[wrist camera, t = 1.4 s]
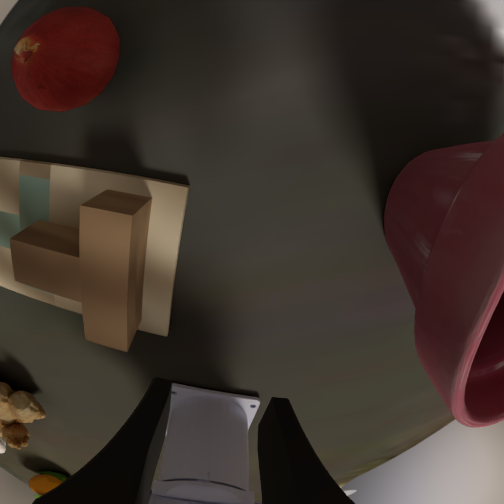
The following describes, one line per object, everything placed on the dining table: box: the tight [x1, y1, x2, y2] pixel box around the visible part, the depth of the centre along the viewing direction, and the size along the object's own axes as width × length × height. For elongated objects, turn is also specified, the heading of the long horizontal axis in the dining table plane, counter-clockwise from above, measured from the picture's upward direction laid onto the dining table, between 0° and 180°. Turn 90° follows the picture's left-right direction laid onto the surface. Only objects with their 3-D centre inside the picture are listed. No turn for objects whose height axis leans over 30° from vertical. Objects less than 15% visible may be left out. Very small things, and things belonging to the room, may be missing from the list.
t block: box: [10, 189, 152, 352], centre depth 17 cm, size 9×8×4 cm
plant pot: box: [384, 134, 504, 427], centre depth 13 cm, size 14×14×13 cm
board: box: [0, 157, 190, 337], centre depth 18 cm, size 11×19×1 cm, turn 77°
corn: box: [29, 471, 68, 498], centre depth 35 cm, size 7×8×20 cm
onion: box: [11, 7, 120, 112], centre depth 11 cm, size 6×6×8 cm
